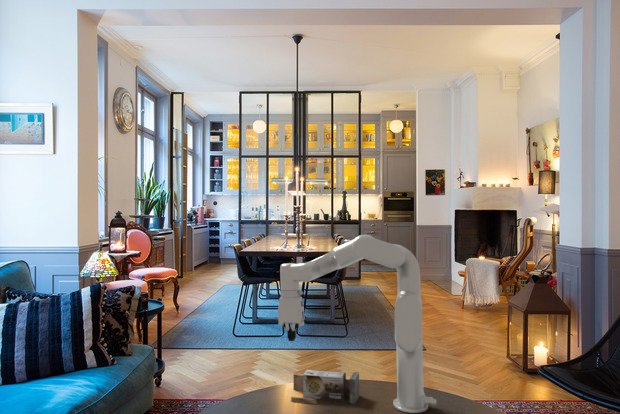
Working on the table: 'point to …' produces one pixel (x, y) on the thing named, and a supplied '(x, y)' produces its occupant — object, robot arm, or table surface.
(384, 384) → the table surface
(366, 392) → the table surface
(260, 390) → the table surface
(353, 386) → the book slot
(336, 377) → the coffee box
